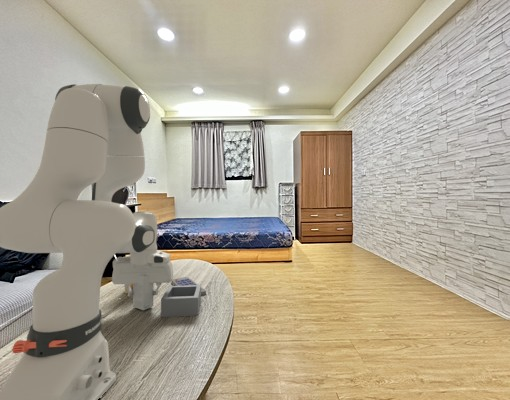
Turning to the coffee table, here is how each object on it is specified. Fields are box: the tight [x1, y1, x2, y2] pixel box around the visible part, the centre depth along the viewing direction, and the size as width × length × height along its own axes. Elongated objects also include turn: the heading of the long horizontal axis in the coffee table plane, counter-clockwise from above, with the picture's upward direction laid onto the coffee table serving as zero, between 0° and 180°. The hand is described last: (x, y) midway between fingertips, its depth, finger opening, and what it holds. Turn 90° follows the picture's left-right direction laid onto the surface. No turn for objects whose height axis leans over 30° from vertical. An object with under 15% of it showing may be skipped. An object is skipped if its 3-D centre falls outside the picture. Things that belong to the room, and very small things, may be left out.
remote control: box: [171, 276, 207, 296], centre depth 107 cm, size 8×23×2 cm, turn 36°
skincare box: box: [132, 275, 155, 311], centre depth 87 cm, size 6×4×12 cm
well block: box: [160, 284, 202, 318], centre depth 87 cm, size 12×12×6 cm
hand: (143, 295), depth 87 cm, fingers closed on skincare box, 7 cm apart
